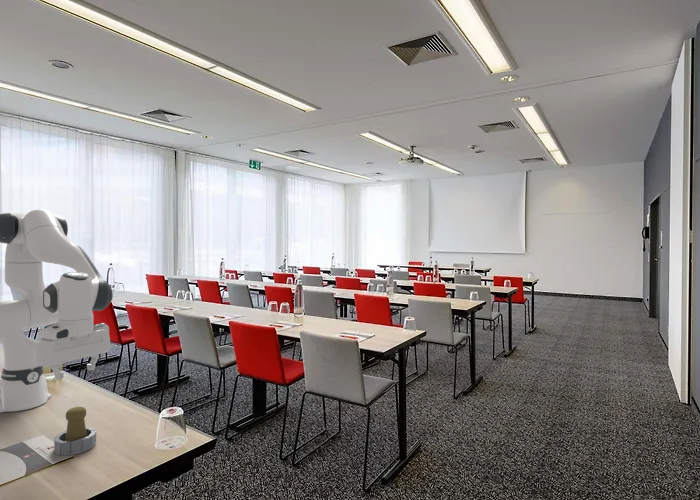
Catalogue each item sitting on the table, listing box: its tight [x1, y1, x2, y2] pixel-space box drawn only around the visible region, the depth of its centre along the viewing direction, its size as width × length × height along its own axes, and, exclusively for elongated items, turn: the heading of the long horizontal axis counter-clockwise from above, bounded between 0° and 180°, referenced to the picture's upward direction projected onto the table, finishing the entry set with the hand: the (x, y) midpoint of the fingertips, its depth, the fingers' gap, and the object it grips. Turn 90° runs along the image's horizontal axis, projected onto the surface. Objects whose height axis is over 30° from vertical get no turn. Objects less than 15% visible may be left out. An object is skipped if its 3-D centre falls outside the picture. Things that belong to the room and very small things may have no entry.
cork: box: [65, 406, 87, 441], centre depth 128 cm, size 6×6×11 cm
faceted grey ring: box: [53, 426, 97, 457], centre depth 128 cm, size 10×10×4 cm
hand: (75, 374), depth 128 cm, fingers open, 8 cm apart
